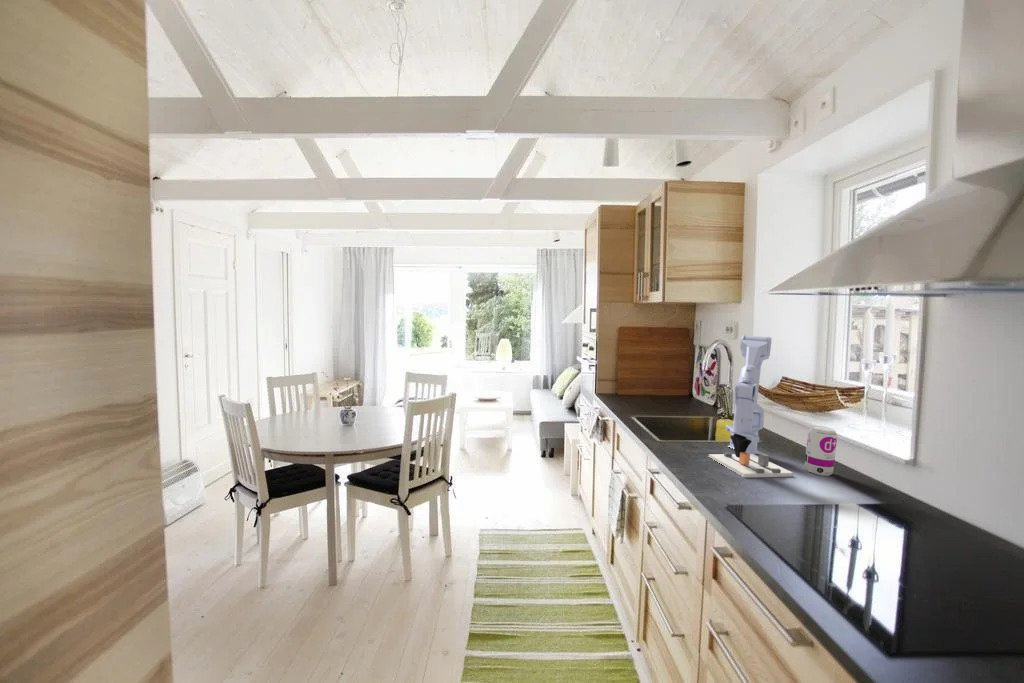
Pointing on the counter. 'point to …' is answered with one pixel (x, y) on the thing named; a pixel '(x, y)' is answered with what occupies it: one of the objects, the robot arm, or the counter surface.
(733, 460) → the panel
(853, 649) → the counter surface
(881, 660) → the counter surface
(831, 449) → the supplement can
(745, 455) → the fader orange
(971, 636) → the counter surface
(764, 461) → the grey rectangular box
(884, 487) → the counter surface
